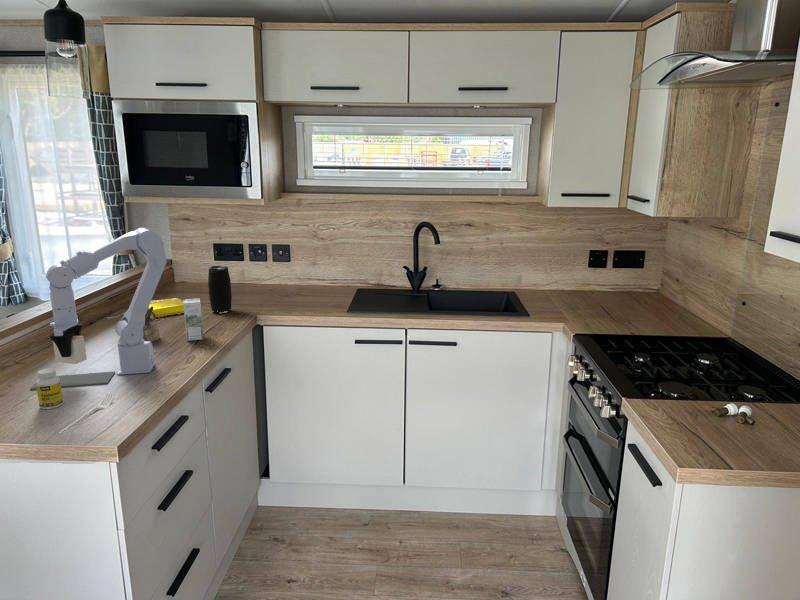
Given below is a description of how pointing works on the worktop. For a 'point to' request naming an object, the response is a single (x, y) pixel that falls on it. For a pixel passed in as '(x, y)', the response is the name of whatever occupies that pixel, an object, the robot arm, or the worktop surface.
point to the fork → (93, 410)
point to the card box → (73, 351)
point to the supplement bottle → (49, 389)
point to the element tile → (167, 306)
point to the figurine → (150, 327)
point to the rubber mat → (83, 379)
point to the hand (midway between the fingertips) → (70, 352)
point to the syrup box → (193, 319)
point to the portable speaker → (219, 288)
